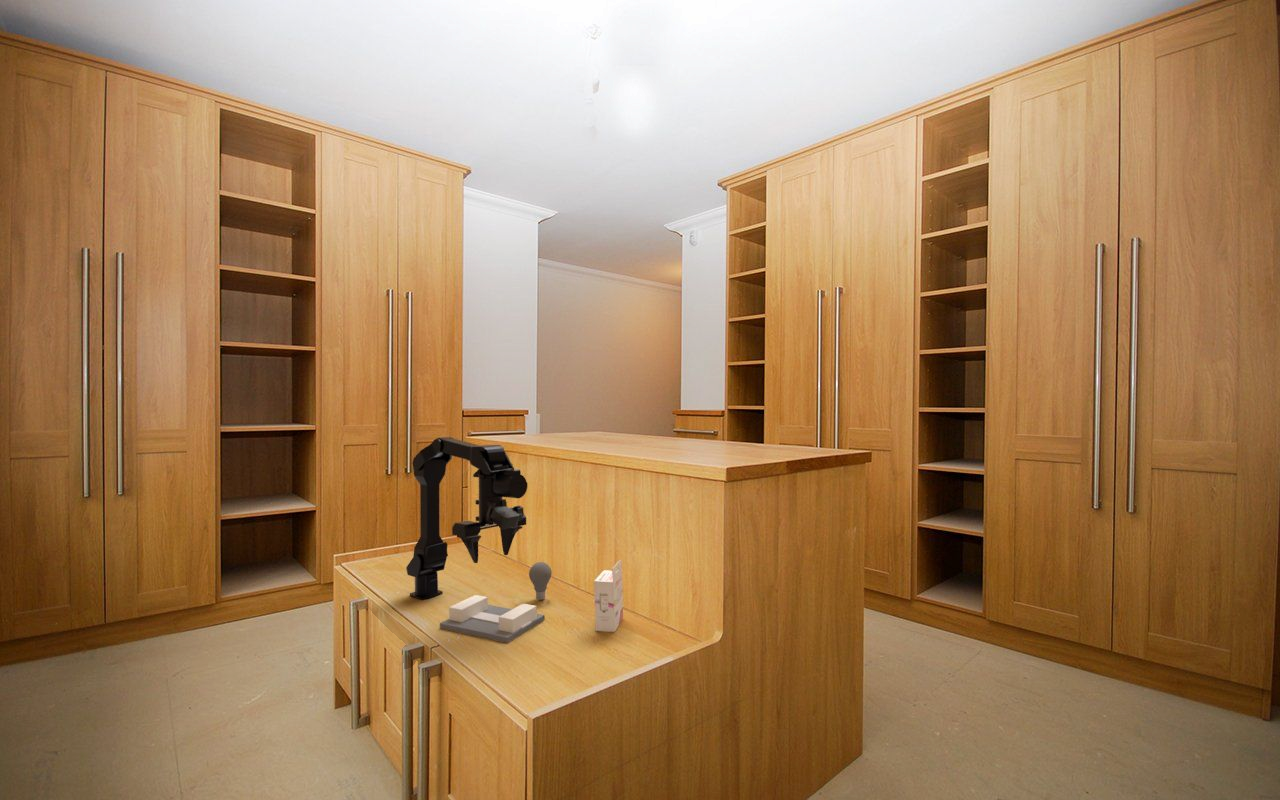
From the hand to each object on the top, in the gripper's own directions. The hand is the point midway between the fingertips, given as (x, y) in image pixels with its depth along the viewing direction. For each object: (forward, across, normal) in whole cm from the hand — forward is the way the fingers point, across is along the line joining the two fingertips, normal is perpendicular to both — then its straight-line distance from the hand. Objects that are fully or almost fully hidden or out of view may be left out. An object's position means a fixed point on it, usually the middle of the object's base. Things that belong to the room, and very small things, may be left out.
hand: (491, 558), depth 137 cm
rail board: (+14, -2, -4) cm, 15 cm away
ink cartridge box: (+15, +13, -27) cm, 33 cm away
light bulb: (+14, +16, -1) cm, 21 cm away
